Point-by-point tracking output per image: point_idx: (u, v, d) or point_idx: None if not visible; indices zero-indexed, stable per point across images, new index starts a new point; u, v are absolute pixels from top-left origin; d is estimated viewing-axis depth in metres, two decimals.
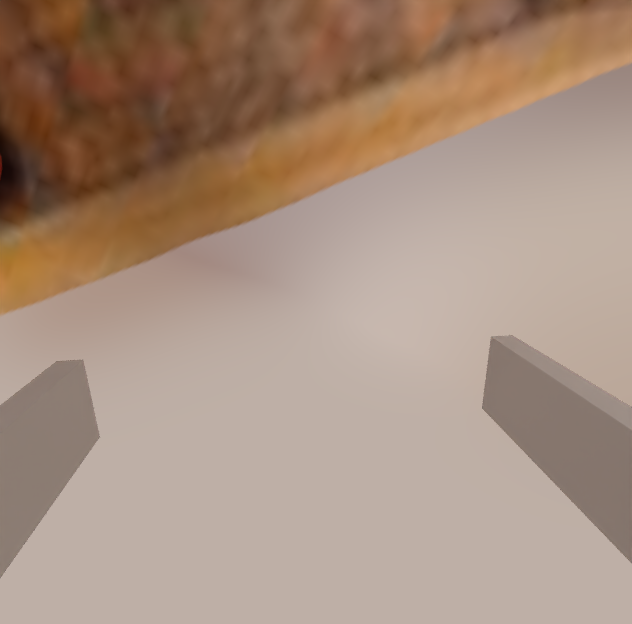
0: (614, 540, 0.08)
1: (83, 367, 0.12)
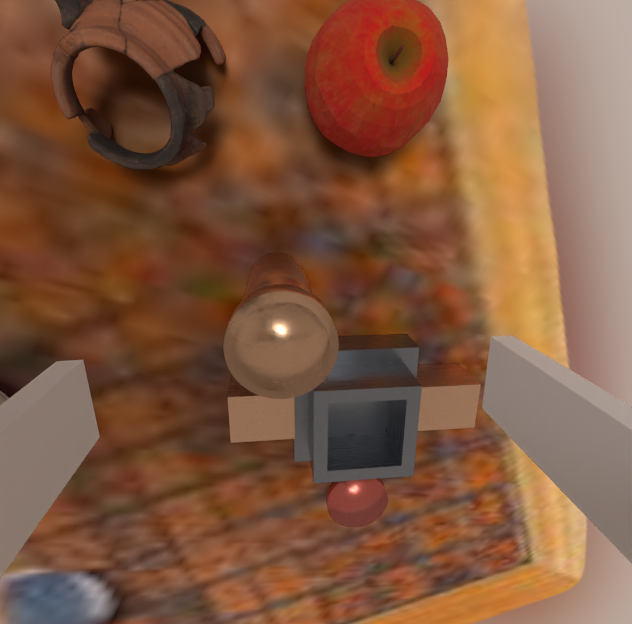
0: (615, 540, 0.08)
1: (83, 367, 0.12)
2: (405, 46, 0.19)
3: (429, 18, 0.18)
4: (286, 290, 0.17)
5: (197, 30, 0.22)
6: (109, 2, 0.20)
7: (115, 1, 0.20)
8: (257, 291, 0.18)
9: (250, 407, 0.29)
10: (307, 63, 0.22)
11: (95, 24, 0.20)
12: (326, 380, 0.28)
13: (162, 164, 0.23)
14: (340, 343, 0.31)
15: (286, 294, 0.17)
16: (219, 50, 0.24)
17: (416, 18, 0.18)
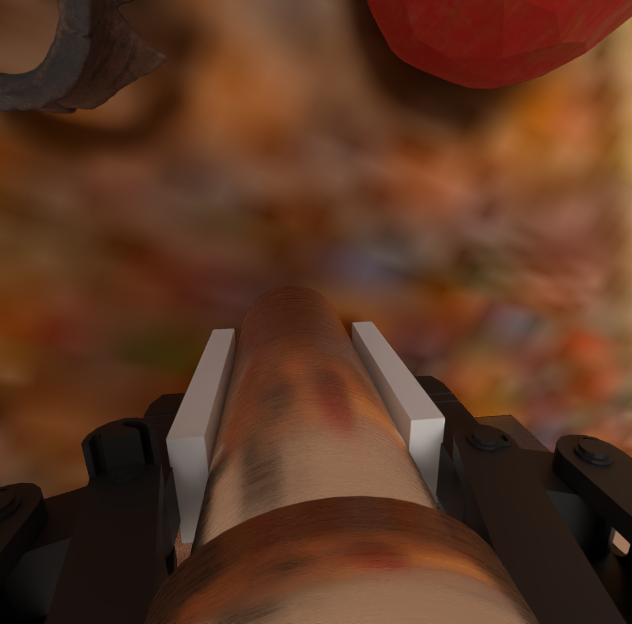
0: None
1: (234, 334, 0.14)
2: None
3: None
4: (382, 595, 0.03)
5: None
6: None
7: None
8: (242, 553, 0.04)
9: None
10: None
11: None
12: None
13: (57, 94, 0.10)
14: None
15: None
16: None
17: None
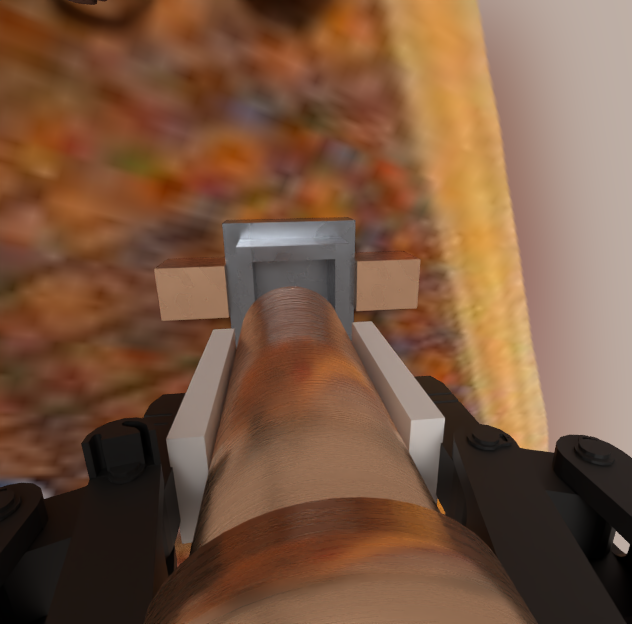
0: None
1: (234, 334, 0.14)
2: None
3: None
4: (381, 596, 0.03)
5: None
6: None
7: None
8: (241, 554, 0.04)
9: (179, 280, 0.28)
10: None
11: None
12: (252, 243, 0.27)
13: None
14: (275, 220, 0.30)
15: None
16: None
17: None
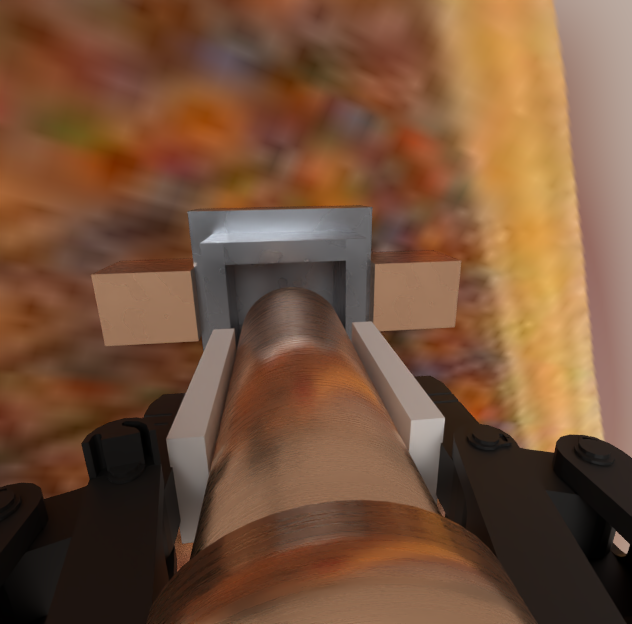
0: None
1: (234, 334, 0.14)
2: None
3: None
4: (382, 600, 0.03)
5: None
6: None
7: None
8: (243, 558, 0.04)
9: (127, 290, 0.20)
10: None
11: None
12: (227, 238, 0.19)
13: None
14: (262, 208, 0.22)
15: None
16: None
17: None
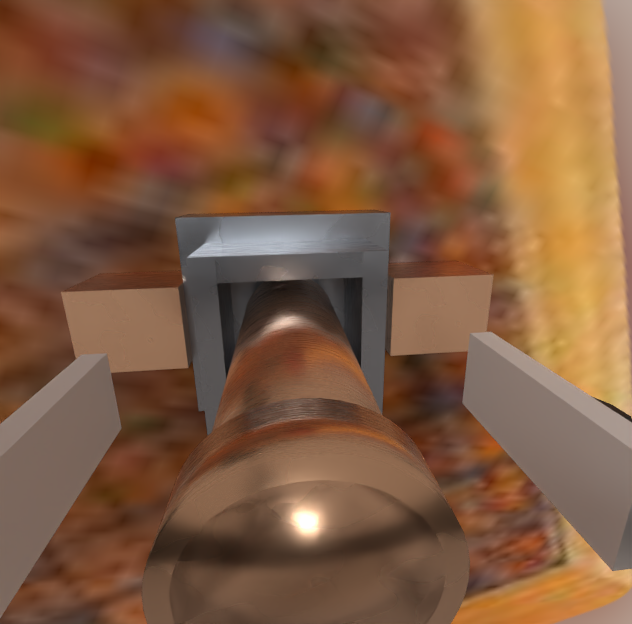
0: (578, 527, 0.09)
1: (107, 360, 0.12)
2: None
3: None
4: (323, 438, 0.06)
5: None
6: None
7: None
8: (241, 427, 0.06)
9: (105, 310, 0.17)
10: None
11: None
12: (221, 250, 0.16)
13: None
14: None
15: (323, 461, 0.05)
16: None
17: None
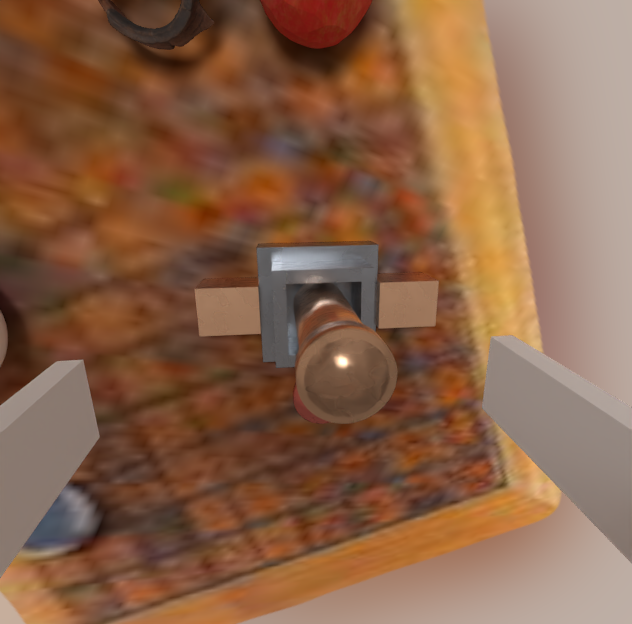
0: (614, 540, 0.08)
1: (83, 367, 0.12)
2: None
3: None
4: (351, 327, 0.19)
5: None
6: None
7: None
8: (323, 328, 0.20)
9: (217, 299, 0.31)
10: None
11: None
12: (285, 266, 0.29)
13: (175, 34, 0.25)
14: (303, 244, 0.33)
15: (352, 331, 0.19)
16: None
17: None
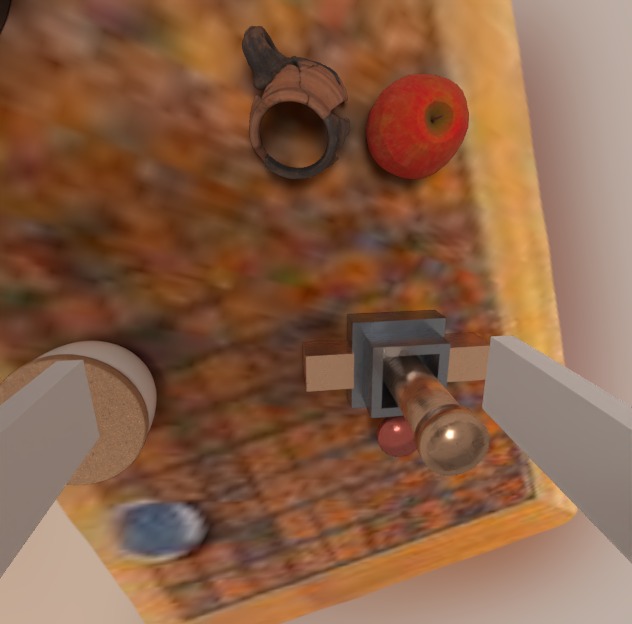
0: (614, 540, 0.08)
1: (83, 367, 0.12)
2: (442, 112, 0.29)
3: (458, 95, 0.29)
4: (460, 412, 0.28)
5: (339, 81, 0.32)
6: (292, 71, 0.30)
7: (295, 70, 0.30)
8: (438, 410, 0.29)
9: (322, 363, 0.40)
10: (371, 118, 0.32)
11: (284, 86, 0.30)
12: (380, 341, 0.38)
13: (314, 174, 0.34)
14: (385, 316, 0.42)
15: (462, 416, 0.28)
16: (345, 91, 0.34)
17: (450, 96, 0.28)
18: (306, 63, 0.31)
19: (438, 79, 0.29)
